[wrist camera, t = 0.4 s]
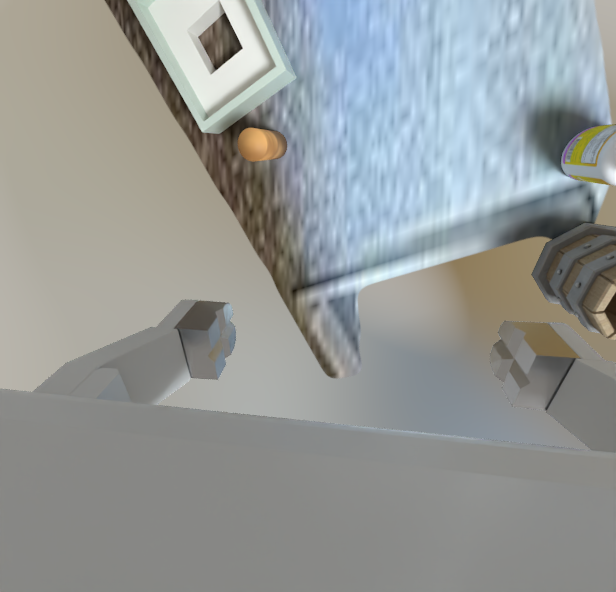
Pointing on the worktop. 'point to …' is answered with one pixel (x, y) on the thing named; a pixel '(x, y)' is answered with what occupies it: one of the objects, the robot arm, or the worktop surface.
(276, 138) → the peg
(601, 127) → the supplement bottle
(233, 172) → the worktop surface
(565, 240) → the tankard
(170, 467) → the robot arm
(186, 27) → the bore box
